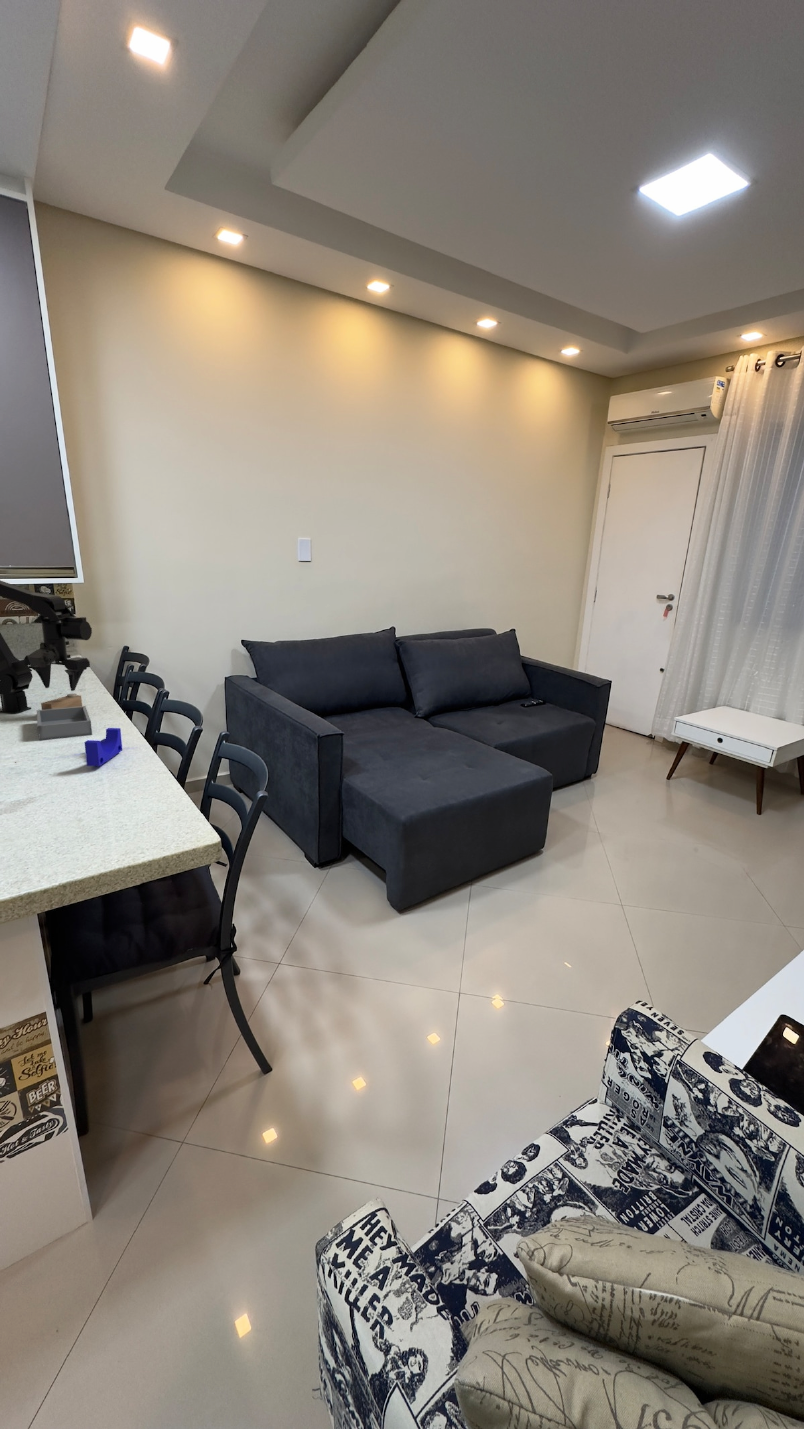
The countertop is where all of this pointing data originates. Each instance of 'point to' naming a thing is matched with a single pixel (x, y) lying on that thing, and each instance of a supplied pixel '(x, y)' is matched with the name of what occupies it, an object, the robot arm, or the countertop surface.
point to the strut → (63, 702)
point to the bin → (63, 723)
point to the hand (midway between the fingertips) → (60, 689)
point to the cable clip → (103, 747)
